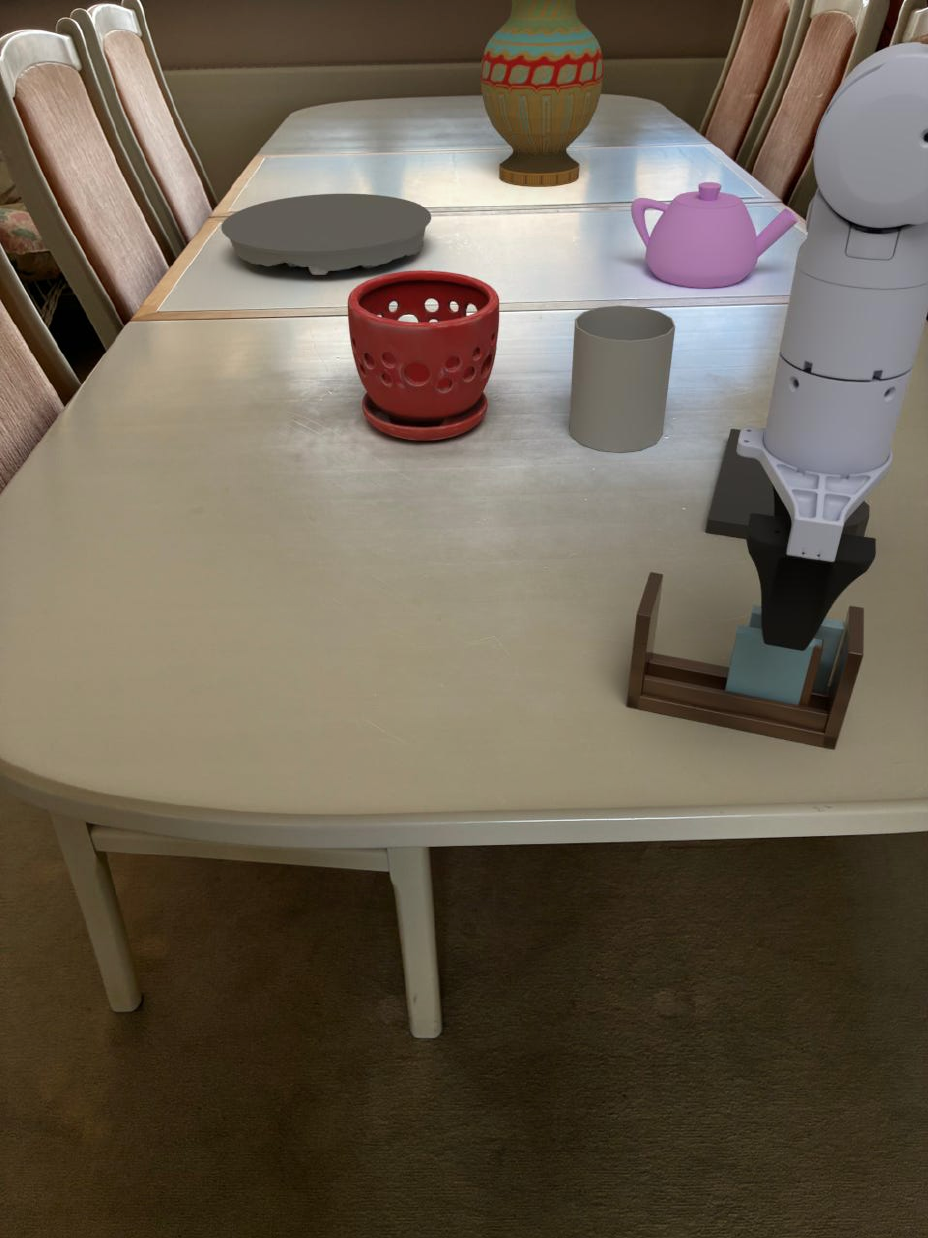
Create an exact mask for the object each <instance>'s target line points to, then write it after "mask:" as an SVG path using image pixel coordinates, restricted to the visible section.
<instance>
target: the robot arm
mask: <svg viewBox="0 0 928 1238" xmlns="http://www.w3.org/2000/svg"><path fill="white" fill-rule="evenodd" d="M812 152H813V154H812V155H813V157H812V158H813V172H814V176H815V180H816V184H817V188H816V190H815V193H814V195H813V196H812V198H811V201H810V202H809V204H808V208H807V213H806V218H805V231H806V232H807V234H806V239H804V241H803V242H802V243H801V245H800V246H799V248H798V251H797V255H796V258H795V266H794V271H793V277H792V280H791V281H792V282H791V288H790V293H789V298H788V304H787V309H786V314H785V319H784V326H783V329H782V335H781V340H780V347H779V354H778V359H777V362H776V363H777V364H776V368H775V369H776V370H775V375H774V379H773V386H772V392H771V397H770V402H769V407H768V413H767V418H766V423H765V427H752V426H751V427H750V426H749V427H748V426H747V427H744V428H743V427H742V429H740V430H741V431H740V435H739V439H738V444H737V450H736V451H737V454H739V455H740V456H742V457H747V458H754V459H757V460H758V461H759V462H760V463H761V465H762V466H763V468H764V470H765V472H766V473H767V475H768V477H769V479H770V480H771V482H772V485H773V492H774V516H770V515H764V514H757V513H751V514H750V519H749V524H748V529H747V534H746V538H745V541H746V546H747V547H746V548H747V551H748V554H749V556H750V559H751V560H752V562H753V565H754V566H755V569H756V572H757V576H758V581H759V587H760V607H761V625H762V635H763V641H764V643H765V644H766V645H771V646H777V647H783V648H788V649H794V650H799V651H804V650H806V648H807V647H808V646H809V644H810V643H811V642H812V640H813V638H814V637H815V635H816V633H817V632H818V630H819V628H820V626H821V624H822V623H823V621H824V619H825V618H827V616H828V613H829V612H830V610H831V609H832V608H833V605H834V604H835V602H836V601H837V600H838V598H839V597H840V596H841V595H842V593H843V592H844V591H845V590H846V589H847V588H848V587H849V586H850V585H852V583H854V581H856V580H857V579H859V578H860V577H861V576H862V575H864V574H865V573H866V572H868V570H869V569H870V567H871V566H872V564H873V562H874V561H875V559H876V554H877V538H876V537H870V536H864V537H863V536H856V535H849V534H843V533H842V530H843V526H844V523H845V521H846V520H847V519H848V518H849V516H850V515H851V514H852V513H853V512H854V511H855V510H856V509H857V508H858V507H859V505H860V504H861V503H862V502H863V501H865V500H866V499H867V498H868V497H869V496H870V495H871V493H873V491H874V490H875V489H876V488H877V487H878V486H879V485H880V484H881V482H882V481H883V480H885V478H887V475H888V474H889V472H890V469H891V465H892V462H893V458H894V454H893V453H894V452H893V449H892V445H893V442H894V438H895V434H896V430H897V427H898V423H899V419H900V416H901V412H902V408H903V405H904V402H905V397H906V395H907V390H908V386H909V382H910V379H911V375H912V372H913V369H914V365H915V360H916V356H917V352H918V350H919V346H920V342H921V339H922V334H923V332H924V327H925V324H926V320H927V317H928V43H927V44H926V43H922V42H921V41H917V42H916V41H911V42H903V43H898V44H895V45H891V46H887V47H885V48H883V49H881V50H878V51H876V52H874V53H872V54H871V55H869V56H868V57H867V58H864V60H862V61H861V62H859V63H858V64H857V65H856V66H855V67H854V68H853V69H852V71H851V72H850V73H848V74H847V76H846V77H845V78H844V79H843V80H842V82H841V83H840V85H839V87H838V88H837V89H836V91H835V93H834V94H833V97H832V98H831V101H830V102H829V104H828V106H827V108H826V110H825V112H824V114H823V115H822V117H821V120H820V122H819V125H818V126H817V130H816V135H815V138H814V143H813V151H812Z"/></svg>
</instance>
